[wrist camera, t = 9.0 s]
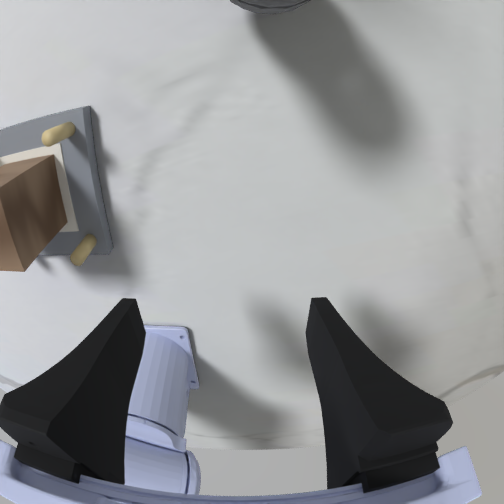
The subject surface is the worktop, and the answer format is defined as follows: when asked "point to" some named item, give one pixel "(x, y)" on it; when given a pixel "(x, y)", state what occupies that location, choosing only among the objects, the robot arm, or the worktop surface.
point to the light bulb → (269, 5)
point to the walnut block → (28, 210)
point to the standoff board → (66, 177)
